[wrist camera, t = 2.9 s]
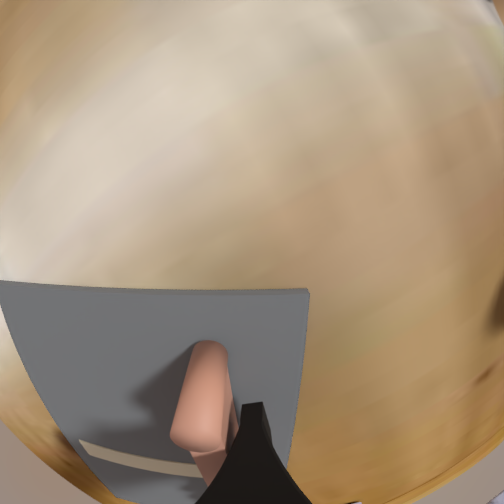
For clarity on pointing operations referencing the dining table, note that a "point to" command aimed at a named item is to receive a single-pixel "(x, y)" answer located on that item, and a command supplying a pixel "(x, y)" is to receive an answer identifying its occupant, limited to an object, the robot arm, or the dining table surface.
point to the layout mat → (152, 371)
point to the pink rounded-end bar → (206, 409)
